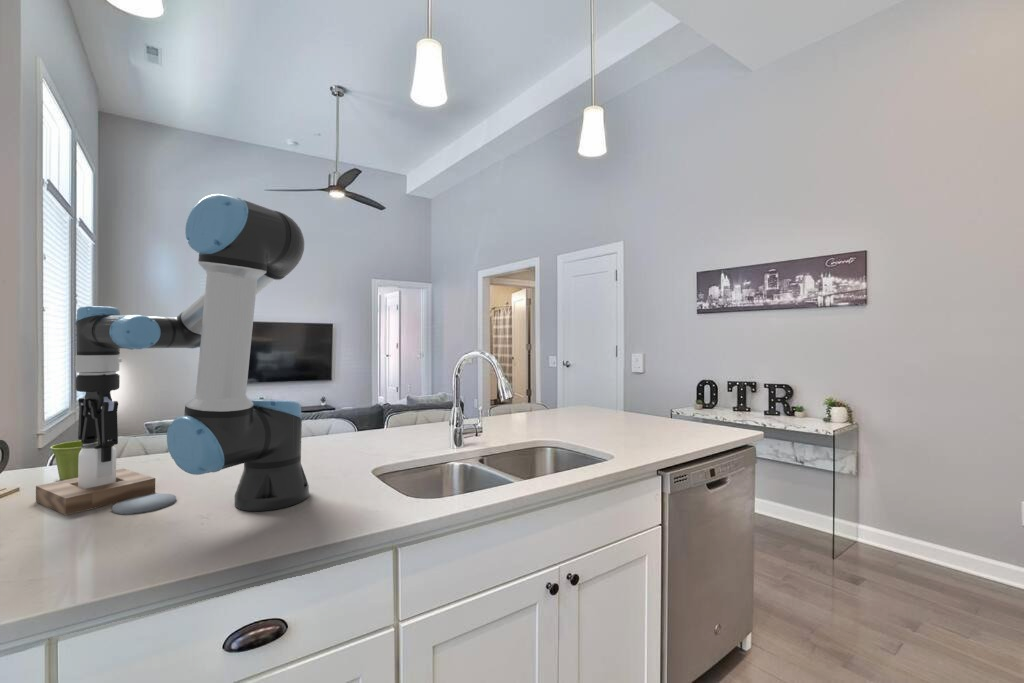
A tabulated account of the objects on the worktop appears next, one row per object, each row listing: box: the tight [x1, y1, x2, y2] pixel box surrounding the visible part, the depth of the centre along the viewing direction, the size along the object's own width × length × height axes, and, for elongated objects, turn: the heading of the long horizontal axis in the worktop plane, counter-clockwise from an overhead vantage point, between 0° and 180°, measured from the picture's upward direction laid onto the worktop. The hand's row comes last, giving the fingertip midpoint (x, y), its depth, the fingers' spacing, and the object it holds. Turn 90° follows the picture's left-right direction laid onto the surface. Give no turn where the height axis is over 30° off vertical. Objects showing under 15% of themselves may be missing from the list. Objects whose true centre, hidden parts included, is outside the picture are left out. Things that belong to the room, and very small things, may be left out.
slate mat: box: [111, 493, 177, 515], centre depth 101 cm, size 11×11×1 cm
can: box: [78, 443, 117, 489], centre depth 106 cm, size 6×6×12 cm
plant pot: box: [50, 440, 96, 481], centre depth 120 cm, size 9×9×9 cm
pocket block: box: [35, 468, 156, 516], centre depth 106 cm, size 16×16×4 cm
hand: (97, 473), depth 106 cm, fingers closed on can, 6 cm apart
